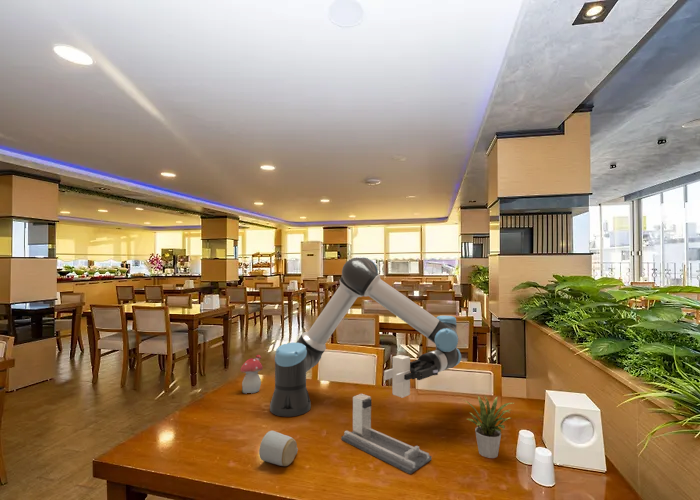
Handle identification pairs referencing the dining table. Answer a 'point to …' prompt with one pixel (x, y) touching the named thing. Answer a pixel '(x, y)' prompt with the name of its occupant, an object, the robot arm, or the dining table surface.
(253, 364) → the decorative ornament
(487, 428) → the house plant
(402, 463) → the rail
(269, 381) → the dining table surface
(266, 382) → the dining table surface
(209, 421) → the dining table surface
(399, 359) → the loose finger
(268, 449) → the grey cylinder on side
